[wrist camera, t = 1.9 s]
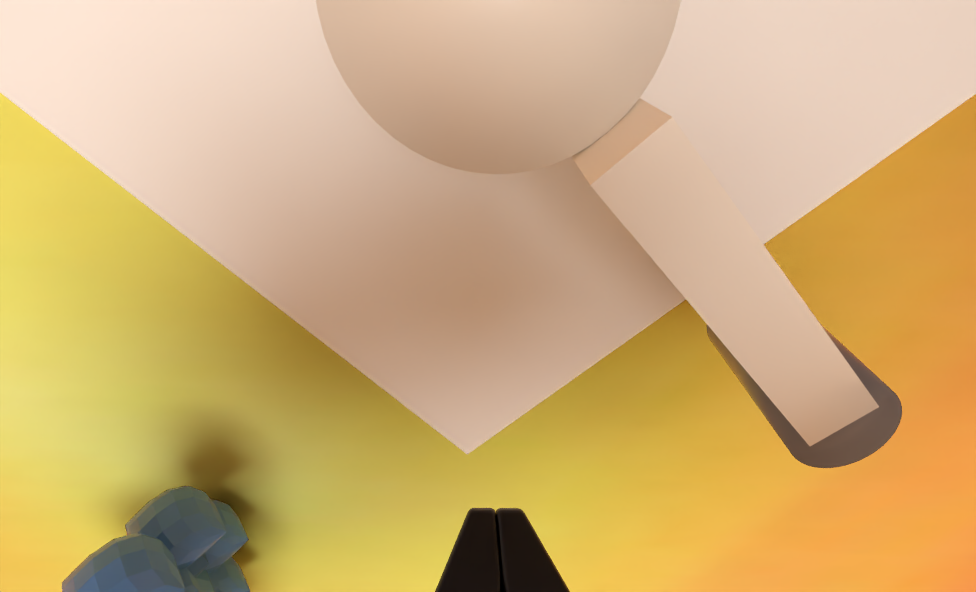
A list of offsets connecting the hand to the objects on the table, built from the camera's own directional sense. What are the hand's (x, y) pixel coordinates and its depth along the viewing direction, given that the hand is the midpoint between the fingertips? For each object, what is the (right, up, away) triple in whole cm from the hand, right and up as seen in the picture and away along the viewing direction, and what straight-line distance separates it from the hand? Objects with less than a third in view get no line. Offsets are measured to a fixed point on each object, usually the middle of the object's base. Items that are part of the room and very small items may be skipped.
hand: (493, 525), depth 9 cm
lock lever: (+3, +7, +5) cm, 9 cm away
